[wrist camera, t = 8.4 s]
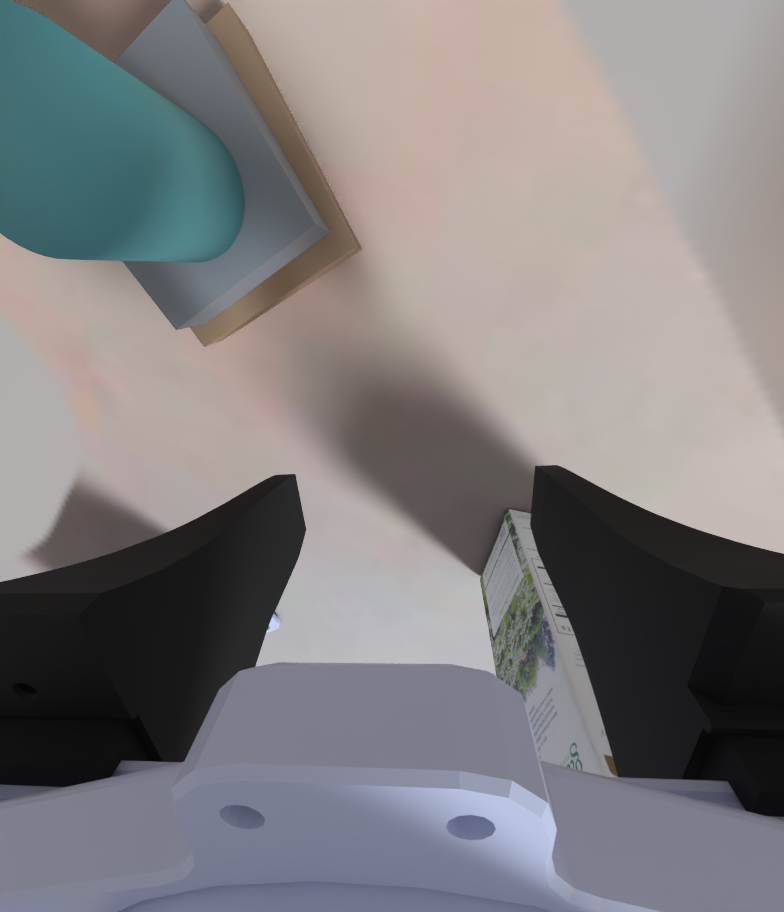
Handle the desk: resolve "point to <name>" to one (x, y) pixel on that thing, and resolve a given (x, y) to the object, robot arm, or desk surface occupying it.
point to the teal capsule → (103, 157)
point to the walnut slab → (297, 151)
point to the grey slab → (255, 154)
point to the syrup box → (541, 652)
